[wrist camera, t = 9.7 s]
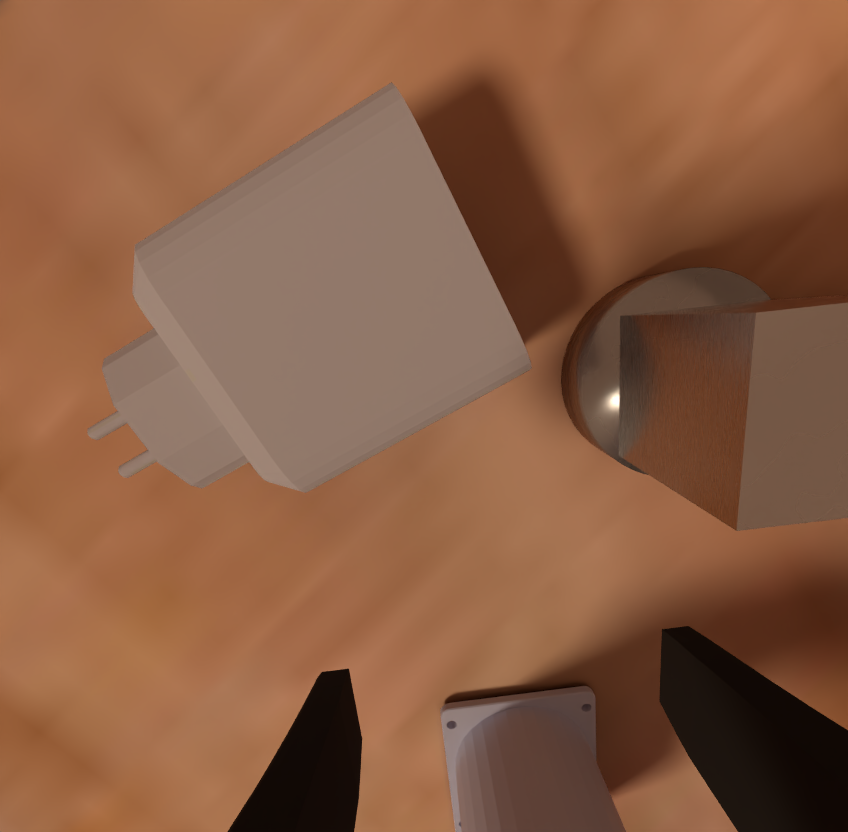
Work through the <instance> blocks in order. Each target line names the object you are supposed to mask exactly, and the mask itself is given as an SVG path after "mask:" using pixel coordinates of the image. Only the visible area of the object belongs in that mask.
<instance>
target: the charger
mask: <svg viewBox="0 0 848 832" xmlns="http://www.w3.org/2000/svg"><path fill="white" fill-rule="evenodd" d="M133 296H134V299H135V300H136V302H137V304H138V306H139V307H140V309H141V310H142V312H143V313H144V315H145V316H146V318H147V319H148V320H149V322H150V323H151V325H152V326H153V327H154V329H152V330H151V331H149V332H147V333H146V334H144V335H142V336H141V337H139V338H137V339H136V340H134V341H133V342H131V343H129V344H128V345H126V346H124V347H123V348H121V349H119V350H118V351H116V352H115V353H113V354H111V355H110V356H108V357H106V358H105V359H104V362H103V366H102V371H103V374H104V377H105V380H106V383H107V386H108V390H109V393H110V396H111V399H112V402H113V405H114V406H115V408H116V409H117V410H118V411H117V412H115V413H113V414H112V415H110V416H108V417H107V418H105V419H103V420H102V421H100V422H98V423H96V424H95V425H93V426H91V427H90V428H88V435H89V436H90V437H91V438H92V439H95V440H99V439H101V438H103V437H104V436H106V435H108V434H109V433H111V432H113V431H115V430H116V429H118V428H120V427H121V426H123V425H125V424H126V423H128V425H129V426H130V427H131V428H132V430H133V431H134V432H135V434H136V435H137V436H138V437H139V439H140V440H141V441H142V443H143V444H144V445H145V447H146V448H147V449H148V450H147V451H145V452H143V453H142V454H140V455H138V456H136V457H135V458H133V459H131V460H129V461H128V462H126V463H124V464H123V465H121V466H119V474H120V475H121V476H123V477H126V478H129V477H131V476H132V475H134V474H136V473H138V472H139V471H141V470H143V469H144V468H146V467H148V466H150V465H151V464H153V463H155V462H158V463H159V464H161V465H162V466H164V467H165V468H167V469H168V470H169V471H171V472H172V473H174V474H175V475H177V476H178V477H180V478H181V479H182V480H184V481H185V482H187V483H188V484H190V485H191V486H195V487H199V488H204V487H206V486H207V485H209V484H211V483H213V482H215V481H216V480H218V479H220V478H222V477H223V476H225V475H227V474H229V473H230V472H232V471H234V470H236V469H238V468H239V467H241V466H243V465H245V464H246V463H248V462H250V464H251V465H252V466H253V468H254V469H255V470H256V472H257V473H258V474H259V475H260V476H261V477H262V478H263V479H264V480H265V481H267V482H270V483H274V484H277V485H281V486H284V487H288V488H291V489H295V490H298V491H302V492H305V493H306V492H308V491H310V490H312V489H314V488H316V487H318V486H319V485H321V484H323V483H325V482H327V481H329V480H330V479H332V478H334V477H336V476H338V475H339V474H341V473H343V472H345V471H347V470H349V469H350V468H352V467H354V466H356V465H358V464H359V463H361V462H363V461H365V460H367V459H369V458H370V457H372V456H374V455H376V454H378V453H379V452H381V451H383V450H385V449H387V448H389V447H390V446H392V445H394V444H396V443H398V442H399V441H401V440H403V439H405V438H407V437H409V436H410V435H412V434H414V433H416V432H418V431H419V430H421V429H423V428H425V427H427V426H429V425H430V424H432V423H434V422H436V421H438V420H439V419H441V418H443V417H445V416H447V415H449V414H450V413H452V412H454V411H456V410H458V409H459V408H461V407H463V406H465V405H467V404H469V403H470V402H472V401H474V400H476V399H478V398H479V397H481V396H483V395H485V394H487V393H489V392H490V391H492V390H494V389H496V388H498V387H499V386H501V385H503V384H505V383H507V382H509V381H510V380H512V379H514V378H516V377H518V376H519V375H521V374H523V373H525V372H527V371H529V370H530V369H531V368H532V367H531V362H530V359H529V356H528V353H527V350H526V348H525V345H524V343H523V341H522V338H521V336H520V334H519V332H518V330H517V327H516V325H515V323H514V321H513V319H512V317H511V315H510V313H509V311H508V309H507V307H506V305H505V303H504V301H503V299H502V296H501V294H500V292H499V290H498V288H497V286H496V284H495V282H494V280H493V278H492V276H491V274H490V272H489V270H488V268H487V266H486V264H485V262H484V260H483V257H482V255H481V253H480V251H479V249H478V247H477V245H476V243H475V241H474V239H473V237H472V235H471V233H470V231H469V229H468V227H467V225H466V223H465V221H464V219H463V216H462V214H461V212H460V210H459V208H458V206H457V204H456V202H455V200H454V198H453V196H452V194H451V192H450V190H449V188H448V186H447V184H446V182H445V180H444V177H443V175H442V173H441V171H440V169H439V167H438V165H437V163H436V161H435V159H434V157H433V155H432V153H431V151H430V149H429V147H428V145H427V143H426V141H425V138H424V136H423V134H422V132H421V130H420V128H419V126H418V124H417V122H416V121H415V119H414V117H413V115H412V113H411V111H410V109H409V107H408V106H407V104H406V102H405V100H404V98H403V97H402V95H401V94H400V92H399V91H398V89H397V88H396V86H395V85H394V84H393V83H392V82H391V83H390V84H388V85H387V86H385V87H383V88H382V89H380V90H379V91H377V92H376V93H374V94H372V95H371V96H369V97H368V98H366V99H365V100H363V101H361V102H360V103H358V104H357V105H355V106H353V107H352V108H350V109H349V110H347V111H346V112H344V113H342V114H341V115H339V116H338V117H336V118H335V119H333V120H331V121H330V122H328V123H327V124H325V125H323V126H322V127H320V128H319V129H317V130H316V131H314V132H312V133H311V134H309V135H308V136H306V137H305V138H303V139H301V140H300V141H298V142H297V143H295V144H294V145H292V146H290V147H289V148H287V149H286V150H284V151H282V152H281V153H279V154H278V155H276V156H275V157H273V158H271V159H270V160H268V161H267V162H265V163H264V164H262V165H260V166H259V167H257V168H256V169H254V170H252V171H251V172H249V173H248V174H246V175H245V176H243V177H241V178H240V179H238V180H237V181H235V182H234V183H232V184H230V185H229V186H227V187H226V188H224V189H222V190H221V191H219V192H218V193H216V194H215V195H213V196H211V197H210V198H208V199H207V200H205V201H204V202H202V203H200V204H199V205H197V206H196V207H194V208H192V209H191V210H189V211H188V212H186V213H185V214H183V215H181V216H180V217H178V218H177V219H175V220H174V221H172V222H170V223H169V224H167V225H166V226H164V227H162V228H161V229H159V230H158V231H156V232H155V233H153V234H151V235H150V236H148V237H147V238H145V239H144V240H142V241H140V242H139V243H137V244H136V245H135V255H134V274H133Z"/></svg>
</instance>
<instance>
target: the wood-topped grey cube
mask: <svg viewBox="0 0 848 832" xmlns="http://www.w3.org/2000/svg"><path fill="white" fill-rule="evenodd" d="M619 456H620V457H622V458H623V459H625V460H626V461H628V462H629V463H631V464H633V465H634V466H636V467H637V468H639V469H640V470H642V471H644V472H645V473H647V474H648V475H650V476H651V477H653V478H655V479H656V480H658V481H659V482H661V483H662V484H664V485H665V486H667V487H669V488H670V489H672V490H673V491H675V492H676V493H678V494H680V495H681V496H683V497H684V498H686V499H687V500H689V501H690V502H692V503H694V504H695V505H697V506H698V507H700V508H701V509H703V510H705V511H706V512H708V513H709V514H711V515H712V516H714V517H716V518H717V519H719V520H720V521H722V522H723V523H725V524H726V525H728V526H730V527H731V528H733V529H734V530H736V531H740V530H748V529H757V528H765V527H774V526H782V525H791V524H799V523H808V522H816V521H824V520H833V519H841V518H848V295H839V296H821V297H804V298H787V299H770V300H759V301H750V302H741V303H731V304H722V305H713V306H704V307H695V308H686V309H677V310H668V311H659V312H650V313H640V314H631V315H622V316H620V381H619Z"/></svg>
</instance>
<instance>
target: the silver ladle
mask: <svg viewBox="0 0 848 832" xmlns="http://www.w3.org/2000/svg"><path fill="white" fill-rule="evenodd" d="M759 300H770V298H769V296H768V295H767V294H766V293H765V292H764V291H763V290H762V289H761V288H760V287H758V286H757V285H756V284H755V283H753V282H751V281H750V280H748V279H747V278H745V277H743V276H741V275H738V274H736V273H733V272H730V271H726V270H722V269H717V268H707V267H700V268H688V269H682V270H677V271H672V272H666V273H661V274H656V275H651V276H646V277H641V278H638V279H635V280H632V281H629V282H627V283H625V284H623V285H621V286H619V287H617V288H615V289H614V290H612V291H611V292H609V293H607V294H606V295H605V296H604V297H602V298H601V299H600V300H599V301H598V302H596V303H595V304H594V305H593V306H592V308H591V309H590V310H589V311H588V312H587V313H586V314H585V316H584V317H583V318H582V320H581V321H580V322H579V324H578V325H577V327H576V329H575V331H574V332H573V334H572V336H571V339H570V341H569V343H568V346H567V349H566V352H565V355H564V359H563V365H562V375H561V385H562V395H563V399H564V403H565V407H566V409H567V412H568V414H569V417H570V419H571V420H572V422H573V424H574V426H575V427H576V428H577V429H578V431H579V432H580V433H581V435H582V436H584V437H585V438H586V439H587V440H588V441H589V442H590V443H591V444H593V445H594V446H596V447H597V448H598V449H600V450H601V451H603V452H604V453H606V454H607V455H609V456H610V457H612V458H613V459H615V460H617V461H618V462H620V463H621V464H623V465H624V466H626V467H628V468H630V469H632V470H635V471H637V472H640V473H643V474H647V473H645V472H644V471H642V470H640V469H639V468H637V467H636V466H634V465H633V464H631V463H629V462H628V461H626V460H625V459H623V458H622V457H620V456H619V381H620V316H622V315H631V314H640V313H650V312H659V311H668V310H677V309H686V308H695V307H704V306H713V305H722V304H731V303H741V302H750V301H759ZM647 475H648V474H647Z"/></svg>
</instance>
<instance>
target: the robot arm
mask: <svg viewBox="0 0 848 832" xmlns="http://www.w3.org/2000/svg"><path fill="white" fill-rule="evenodd" d="M660 703H661V705H662V707H663V709H664V711H665V713H666V715H667V717H668V718H669V720H670V722H671V724H672V726H673V728H674V730H675V732H676V734H677V736H678V737H679V739H680V741H681V743H682V745H683V747H684V748H685V750H686V752H687V754H688V756H689V757H690V759H691V760H692V762H693V763H694V765H695V767H696V768H697V770H698V771H699V773H700V774H701V776H702V777H703V779H704V780H705V782H706V784H707V785H708V787H709V788H710V790H711V791H712V793H713V794H714V796H715V797H716V799H717V800H718V802H719V803H720V805H721V806H722V808H723V810H724V811H725V813H726V814H727V816H728V817H729V819H730V820H731V822H732V823H733V825H734V826H735V828H736V829H737V831H738V832H848V730H846V729H845V728H843V727H842V726H840V725H838V724H837V723H835V722H834V721H832V720H830V719H829V718H827V717H826V716H824V715H822V714H821V713H819V712H818V711H816V710H815V709H813V708H812V707H810V706H808V705H807V704H805V703H804V702H802V701H801V700H799V699H798V698H796V697H795V696H793V695H792V694H790V693H788V692H787V691H785V690H784V689H782V688H781V687H779V686H778V685H776V684H775V683H773V682H772V681H770V680H769V679H767V678H766V677H764V676H763V675H761V674H760V673H758V672H757V671H755V670H754V669H752V668H751V667H749V666H748V665H746V664H745V663H743V662H742V661H740V660H739V659H737V658H736V657H734V656H733V655H731V654H730V653H728V652H727V651H725V650H724V649H723V648H721V647H720V646H718V645H717V644H715V643H714V642H712V641H711V640H709V639H708V638H706V637H704V636H703V635H701V634H700V633H698V632H697V631H695V630H694V629H692V628H691V627H689V626H686V627H678V628H670V629H662V646H661V675H660ZM441 722H442V730H443V738H444V746H445V753H446V761H447V769H448V777H449V785H450V792H451V800H452V808H453V816H454V824H455V831H456V832H626V830H625V828H624V826H623V823H622V821H621V819H620V816H619V814H618V812H617V809H616V807H615V805H614V802H613V800H612V798H611V795H610V793H609V791H608V788H607V786H606V784H605V781H604V779H603V777H602V774H601V772H600V770H599V767H598V765H597V762H596V698H595V695H594V693H593V691H592V689H591V688H590V687H588V686H579V687H571V688H563V689H555V690H548V691H540V692H532V693H524V694H516V695H508V696H500V697H492V698H484V699H477V700H469V701H461V702H453V703H447V704H445V705H444V706H442V708H441ZM361 751H362V736H361V731H360V725H359V720H358V715H357V710H356V704H355V699H354V694H353V689H352V683H351V678H350V673H349V669H343V670H335V671H327V672H322V673H321V674H320V675H319V676H318V678H317V680H316V682H315V684H314V686H313V687H312V689H311V691H310V693H309V695H308V697H307V699H306V701H305V703H304V705H303V706H302V708H301V710H300V712H299V714H298V716H297V718H296V719H295V721H294V723H293V725H292V726H291V728H290V730H289V732H288V734H287V735H286V737H285V739H284V741H283V742H282V744H281V746H280V748H279V749H278V751H277V753H276V754H275V756H274V758H273V759H272V761H271V763H270V765H269V766H268V768H267V770H266V771H265V773H264V775H263V776H262V778H261V780H260V781H259V783H258V785H257V786H256V788H255V790H254V791H253V793H252V794H251V796H250V797H249V799H248V801H247V802H246V804H245V805H244V807H243V808H242V810H241V812H240V813H239V815H238V816H237V818H236V819H235V821H234V822H233V824H232V826H231V827H230V829H229V830H228V832H354V828H355V821H356V814H357V807H358V799H359V785H360V770H361Z"/></svg>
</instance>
